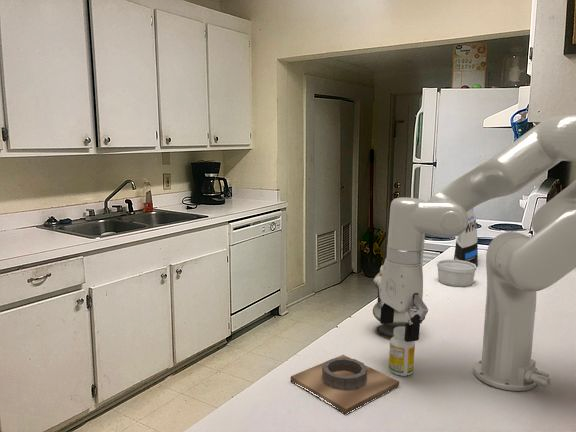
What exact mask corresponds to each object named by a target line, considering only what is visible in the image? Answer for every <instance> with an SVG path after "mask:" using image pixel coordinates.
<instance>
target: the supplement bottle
mask: <svg viewBox="0 0 576 432" xmlns="http://www.w3.org/2000/svg"><path fill="white" fill-rule="evenodd" d="M393 334H394V336H393V337H392V338H391V339H389V354H388V355H389V358H388V370H389V371H390V373H392V374H393V373H394V375H395V374H396V376H399V375H401V376H400V377H407V375H408V376H410V375H412V374H413V372H414V367H415V365H414V364H415V350H416V341H411V342H406V341H405V340H404V337H405V327H403V326H399V327H395V328H394V333H393Z"/></svg>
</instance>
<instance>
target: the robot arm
mask: <svg viewBox="0 0 576 432" xmlns="http://www.w3.org/2000/svg"><path fill="white" fill-rule="evenodd" d="M563 161H565V162H575V163H576V114H567V115H566V114H565V115H556V116H552V117H548V118H546V119H543V120H542V121H541V122H539V123H537V124H536V125H535V126H534V127H532V128H530V129H529V130H528V131H526V132H525V133H523V135H521V136H519V137H518V138H517V139H516V140H515V141H513V142H512V143H510V144H509V145H508V146H506V147H504V148H503V149H502V150H501V151H499V152H498V153H497V154H495V155H494V156H492V157H491V158H489V159H488V160H485V161H484V162H482V163H480V164H479V165H477V166H476V167H475V168H473V169H471V170H470V171H467V172H466V173H464V174H463V175H461V176H459V177H458V178H456V179H454V180H453V181H451V182H450V183H449V184H448V185H446V186H444V187H443V188H442V189H441V190H440V191H438V192H437V193H435V194H433V196H431V197H430V198H429V199H428V200H427V201H425V200H423V199H420V198H416V197H415V198H414V197H397V198H396V197H395V198H394V199H393V200H391V203H390V208H389V220H388V221H389V223H388V234H387V246H386V247H387V248H386V257H385V259H384V263H383V265H384V266H383V271H382V276H381V283H379V284H378V286H379V292H380V293H379V296H380V299H381V301H380V305H381V306H383V307H381V316H380V321H379V323H380V325H382V324H389V323H393V320H394V309H395V310H396V311H398V312H400V313H404V312H405V315H406V318H407V321H408V323H406V325H405V337H404V340H405V341H406V342H411V341H414V342H416V341H417V342H418V341H419V340H420V328H421V324H423V321H424V320H425V319H426V316H427V313H428V312H429V309H428V307H427V305H426V304H425V302H424V301H423V296H424V273H423V261H424V250H425V249H424V248H425V237H426V235H430V236H436V237H438V238H444V239H446V238H447V239H451V238H452V239H453V238H457V237H458V235H460V234H462V233H463V232H464V231H465V229H466V228H467V225H468V215H467V212H468V211H469V210H471V209H472V208H473V209H474V208H476V207H477V206H479V205H481V204H483V203H485V202H487V201H489V200H492V199H498V198H501V197H506V196H510V195H512V194H515V193H518V192H520V191H521V190H522V189H523V188H526V186H528V185H529V184H531V183H532V182H534V181H535V180H537V179H538V178H539V177H540V176H542V175H543V174H545V173H546V172H548V171H549V170H550V169H552V168H554V167H555V166H556V165H558V164H559V163H560V162H563ZM531 226H532V230H533V232H534V234H533V235H532V236H531V237H529V236H527V235H526V234H524V233H520V232H517V231H506V232H503V233H500V234H498V235H497V236H495V237H494V238H493V239H492V240H491V242H489V244H488V246H487V250H486V255H485V256H486V257H485V264H486V265H485V267H486V270H485V271H486V296H485V297H486V298H485V310H484V322H483V323H484V324H483V336H482V337H483V338H482V350H481V359H480V360H478V361H476V362H475V363H474V365H473V374H474V375H475V377H476V378H477V379H479V381H481V382H483V383H485V384H486V385H489V386H491V387H494V388H497V389H501V390H504V391H505V390H506V391H513V392H522V391H529V390H531V389H534V388H536V386H537V385H539V386H542V387H545V388H548V387H549V386H550V385H551V378H550V377H549V376H550V375H549V373H548V372H545V371H543V370H540V369H538V368H537V367H536V363H537V362H536V361H535V360H533V359H532V354H533V353H532V351H533V341H534V329H535V317H536V311H537V309H536V308H537V292H540V291H543V290H546V289H547V288H550V287H551V286H553V285H554V284H556V283H557V282H558V281H560V280H561V279H563V278H564V277H566V276H567V275H568V274H569V273H571V272H572V271H574V270H575V269H576V179H575V180H573V182H571V183H570V184H569V185H568V186H567V187H565V188H564V189H562V190H561V191H560V192H558V193H557V194H556V195H554V197H552V198H551V199H550V200H549V201H547V202H546V203H544V204H543V205H542V206H540V207H539V208H538V209H537V210H536V212H535V213H534V215H533V217H532V221H531ZM409 308H411V309H409ZM411 313H414V314H415V316H414V317H412V316H411Z"/></svg>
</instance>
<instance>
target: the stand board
mask: <svg viewBox="0 0 576 432" xmlns="http://www.w3.org/2000/svg"><path fill="white" fill-rule="evenodd" d="M291 381H292V382H294V383H296V384H298V385H300V386H302V387H304V388H306V389H308V390H309V391H311V392H313V393H314V394H316V395H318V396H319V397H321V398H323V399H324V400H326V401H327V402H329V403H331V404H332V405H333V406H335V407H336V408H338V409H339V410H340V411H342V412H343V413H345V414H347V413H348V412H350V411H352V410H354V409H356V408H358V407H360V406H362V405H364V404H365V403H367V402H369V401H371V400H373V399H375V398H377V397H379V396H381V395H383V394H384V395H386V394H388V393H389V392H388V391H390V392H392V391H393V390H392V389H394V388H396V389H398V388H399V387H400V380H397V379H396V378H393V377H391V376H390V375H388V374H385V373H383V372H381V371H378V370H377V369H375V368H373V367H370V366H368V365H365V363H364V362H362V361H359V360H357V359H355V358H352V357H350V356H347V355H345V354H341V355H338V356H336V357H334V358H331V359H328V360H325V361H324V362H322V363H320V364H319V363H318V364H317V365H314V366H312V367H309V368H308V369H305V370H302V371H300V372H297V373H295V374H293V375H290V382H291ZM292 382H291V383H292ZM294 383H293V384H294ZM296 384H295V385H296ZM398 386H399V387H398ZM397 387H398V388H397ZM391 390H392V391H391ZM394 390H395V389H394ZM387 392H388V393H387ZM385 393H386V394H385ZM384 395H383V396H384ZM381 397H382V396H381ZM379 398H380V397H379ZM377 399H378V398H377ZM375 400H376V399H375ZM373 401H374V400H373ZM371 402H372V401H371ZM369 403H370V402H369ZM364 406H365V405H364ZM362 407H363V406H362ZM360 408H361V407H360ZM358 409H359V408H358ZM339 410H338V411H339ZM356 410H357V409H356ZM340 411H339V412H340ZM354 411H355V410H354ZM342 412H341V413H342ZM343 413H342V414H343ZM345 414H344V415H345ZM347 415H348V414H347Z"/></svg>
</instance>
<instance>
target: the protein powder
mask: <svg viewBox="0 0 576 432" xmlns="http://www.w3.org/2000/svg"><path fill="white" fill-rule="evenodd" d="M467 215H468V225H467V228H466V229H465V231H464V232H463V233H462V234H460V235H458V236H456V241H455V249H454V255H453V260H462V261H467V262H470V263H473V264H475V265H476V268H478V265H479V262H478V257H479V255H478V253H479V252H478V251H479V250H478V246H479V245H478V230H477V217H476V215H475V211H474V208H472V209H471V210H469V211H468V212H467Z"/></svg>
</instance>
